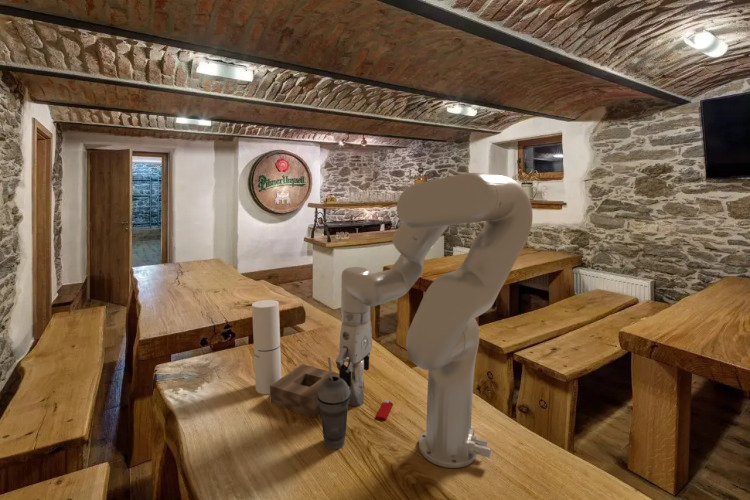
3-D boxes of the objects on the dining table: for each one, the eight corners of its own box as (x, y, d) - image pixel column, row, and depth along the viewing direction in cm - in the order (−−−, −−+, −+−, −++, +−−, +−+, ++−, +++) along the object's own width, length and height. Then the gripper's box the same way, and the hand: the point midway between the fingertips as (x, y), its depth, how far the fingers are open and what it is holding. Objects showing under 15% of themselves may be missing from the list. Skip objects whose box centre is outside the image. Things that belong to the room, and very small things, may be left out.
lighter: (374, 415, 94) (383, 399, 102) (374, 420, 94) (383, 403, 102) (385, 417, 93) (393, 400, 101) (385, 422, 94) (393, 405, 101)
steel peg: (366, 400, 103) (366, 358, 101) (359, 407, 99) (359, 364, 97) (353, 396, 104) (353, 355, 102) (346, 403, 101) (345, 361, 99)
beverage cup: (337, 458, 80) (336, 370, 77) (311, 446, 84) (309, 361, 81) (357, 439, 86) (356, 356, 83) (331, 428, 90) (330, 349, 87)
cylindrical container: (274, 395, 105) (271, 308, 101) (251, 392, 106) (246, 306, 102) (285, 382, 112) (283, 300, 108) (263, 380, 113) (259, 299, 109)
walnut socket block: (343, 391, 107) (342, 374, 106) (313, 417, 95) (313, 398, 94) (303, 379, 113) (302, 364, 112) (270, 403, 101) (269, 385, 100)
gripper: (351, 329, 89) (350, 396, 92) (383, 308, 104) (381, 366, 107) (324, 323, 92) (324, 388, 95) (359, 303, 107) (358, 360, 110)
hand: (354, 376), depth 101 cm, fingers open, 9 cm apart
